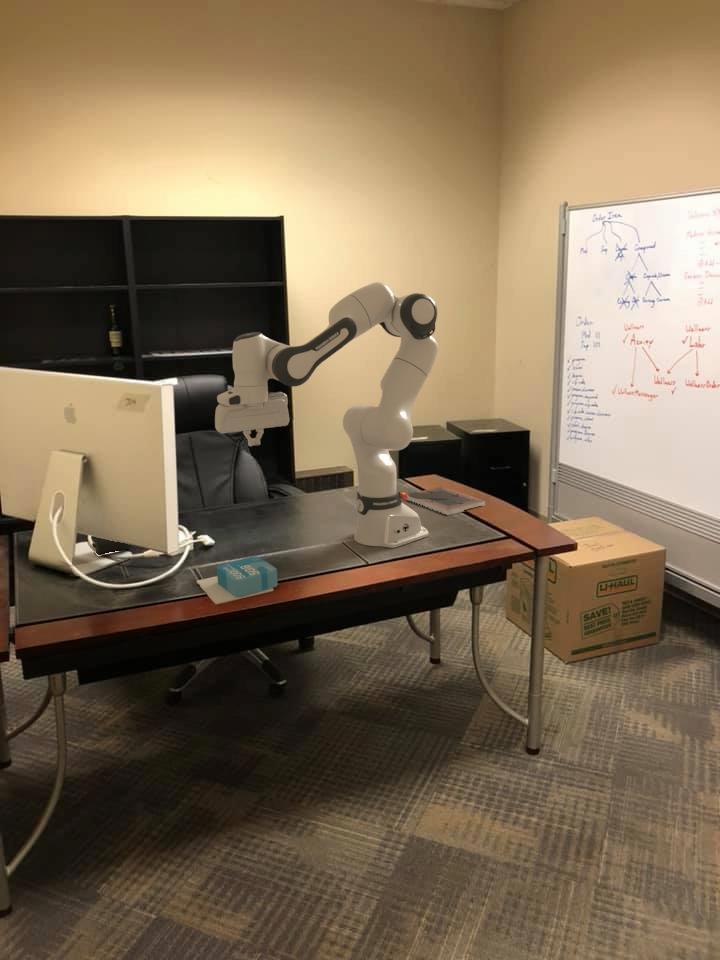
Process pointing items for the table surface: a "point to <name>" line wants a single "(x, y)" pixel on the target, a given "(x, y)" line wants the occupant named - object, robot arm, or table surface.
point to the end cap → (108, 546)
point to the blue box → (247, 576)
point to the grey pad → (221, 591)
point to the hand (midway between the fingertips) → (254, 445)
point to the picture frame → (445, 500)
